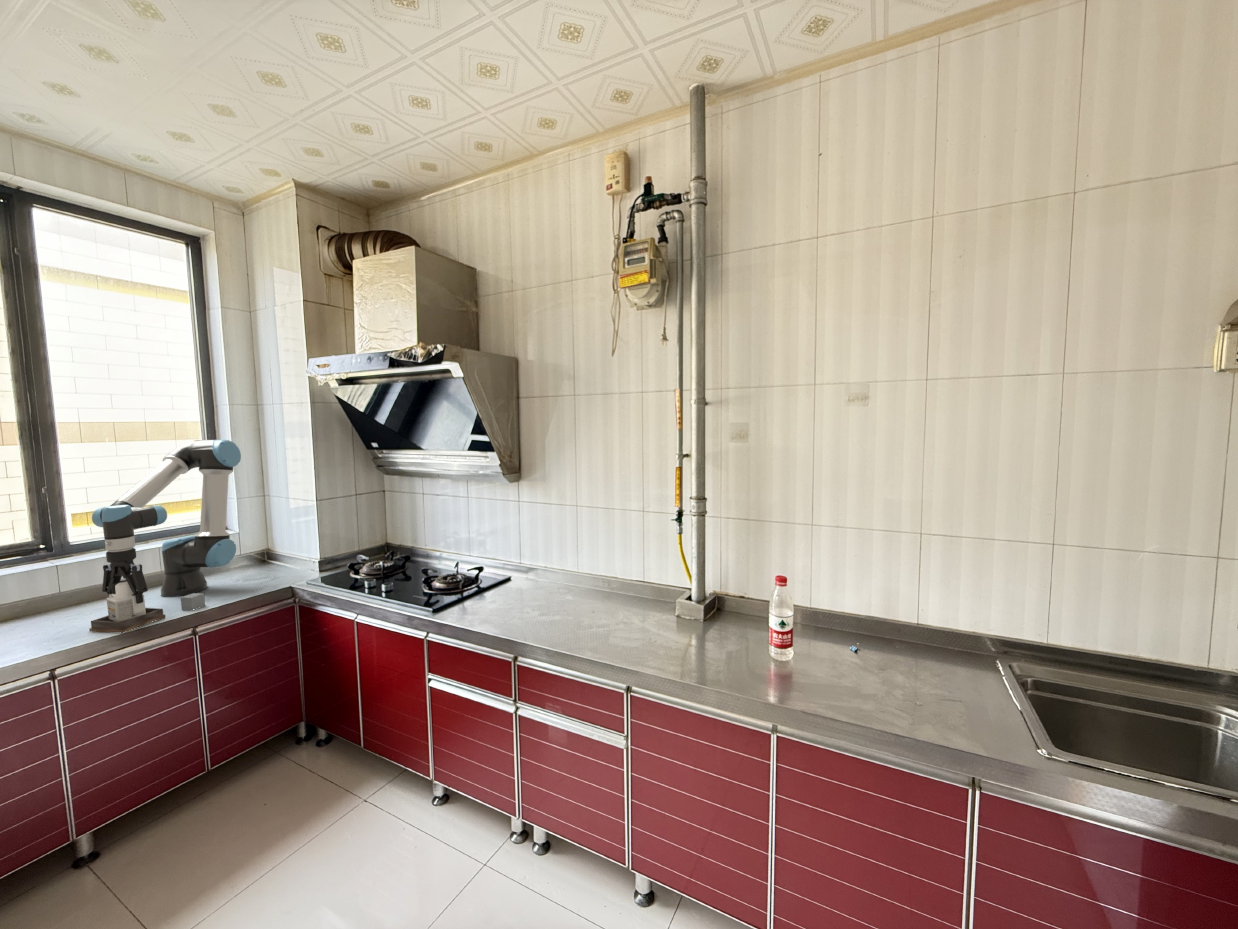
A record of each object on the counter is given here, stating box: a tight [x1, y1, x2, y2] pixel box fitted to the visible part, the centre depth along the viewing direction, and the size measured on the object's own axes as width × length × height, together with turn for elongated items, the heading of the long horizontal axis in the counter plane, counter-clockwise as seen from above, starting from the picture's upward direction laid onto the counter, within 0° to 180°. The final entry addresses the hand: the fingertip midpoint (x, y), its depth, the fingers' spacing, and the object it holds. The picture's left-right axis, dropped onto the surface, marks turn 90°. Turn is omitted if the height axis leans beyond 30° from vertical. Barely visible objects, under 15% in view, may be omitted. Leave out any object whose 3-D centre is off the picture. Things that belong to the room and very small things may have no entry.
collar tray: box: [89, 607, 166, 634], centre depth 182 cm, size 14×14×4 cm
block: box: [179, 592, 206, 611], centre depth 197 cm, size 5×5×5 cm
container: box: [106, 579, 146, 622], centre depth 181 cm, size 8×8×13 cm
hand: (127, 611), depth 181 cm, fingers closed on container, 9 cm apart
